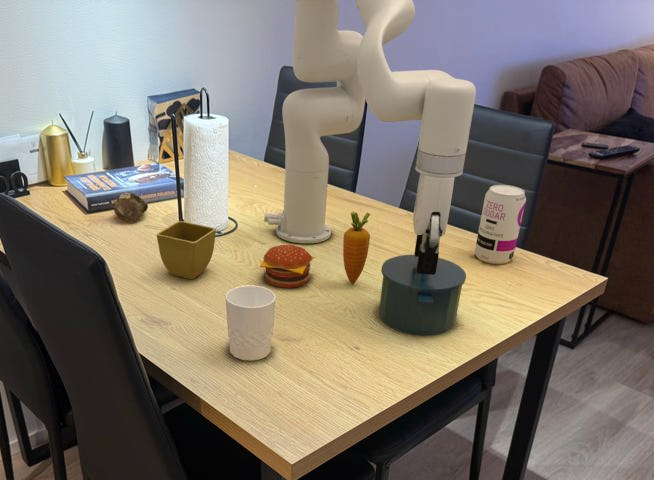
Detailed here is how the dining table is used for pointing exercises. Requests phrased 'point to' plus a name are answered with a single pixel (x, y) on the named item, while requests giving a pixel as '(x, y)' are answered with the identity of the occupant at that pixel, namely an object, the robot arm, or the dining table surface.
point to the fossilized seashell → (129, 207)
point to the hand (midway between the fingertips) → (424, 264)
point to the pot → (418, 309)
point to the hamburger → (287, 266)
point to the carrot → (355, 247)
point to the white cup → (250, 321)
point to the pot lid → (406, 275)
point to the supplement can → (500, 224)
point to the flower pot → (186, 248)
